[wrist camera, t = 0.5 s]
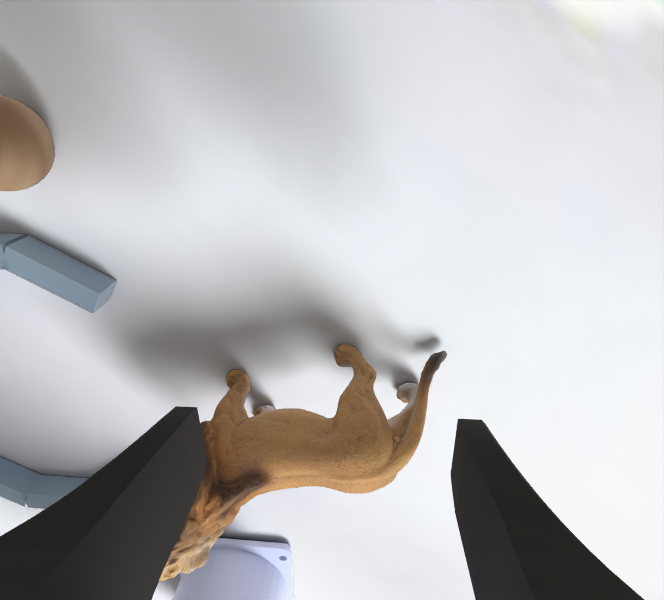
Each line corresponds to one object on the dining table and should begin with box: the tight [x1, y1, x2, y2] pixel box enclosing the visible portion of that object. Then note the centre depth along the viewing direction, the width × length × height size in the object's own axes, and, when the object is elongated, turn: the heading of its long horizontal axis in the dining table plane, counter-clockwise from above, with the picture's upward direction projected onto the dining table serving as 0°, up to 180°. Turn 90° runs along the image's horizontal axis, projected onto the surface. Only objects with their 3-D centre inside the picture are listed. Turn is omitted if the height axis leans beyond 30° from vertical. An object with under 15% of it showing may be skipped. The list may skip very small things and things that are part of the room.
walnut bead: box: [0, 95, 55, 191], centre depth 18 cm, size 4×4×4 cm
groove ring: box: [0, 233, 117, 509], centre depth 25 cm, size 17×15×2 cm
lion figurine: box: [159, 344, 447, 581], centre depth 20 cm, size 15×5×9 cm, turn 115°
